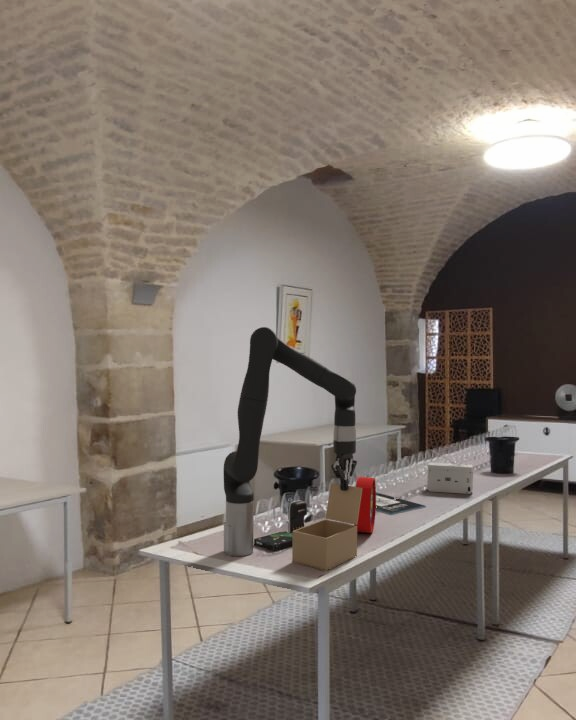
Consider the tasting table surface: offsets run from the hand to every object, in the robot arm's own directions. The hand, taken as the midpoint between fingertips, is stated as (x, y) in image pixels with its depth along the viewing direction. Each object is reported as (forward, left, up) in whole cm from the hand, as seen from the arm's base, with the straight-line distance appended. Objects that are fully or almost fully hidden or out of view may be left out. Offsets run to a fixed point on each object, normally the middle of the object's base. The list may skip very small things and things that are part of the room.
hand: (344, 490), depth 224 cm
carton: (-9, -6, -20) cm, 23 cm away
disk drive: (-18, +15, -21) cm, 31 cm away
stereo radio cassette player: (+87, +64, -21) cm, 110 cm away
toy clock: (+18, +18, -21) cm, 33 cm away
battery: (-6, +25, -21) cm, 33 cm away
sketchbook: (+45, +54, -21) cm, 73 cm away
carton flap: (0, 0, -4) cm, 4 cm away
